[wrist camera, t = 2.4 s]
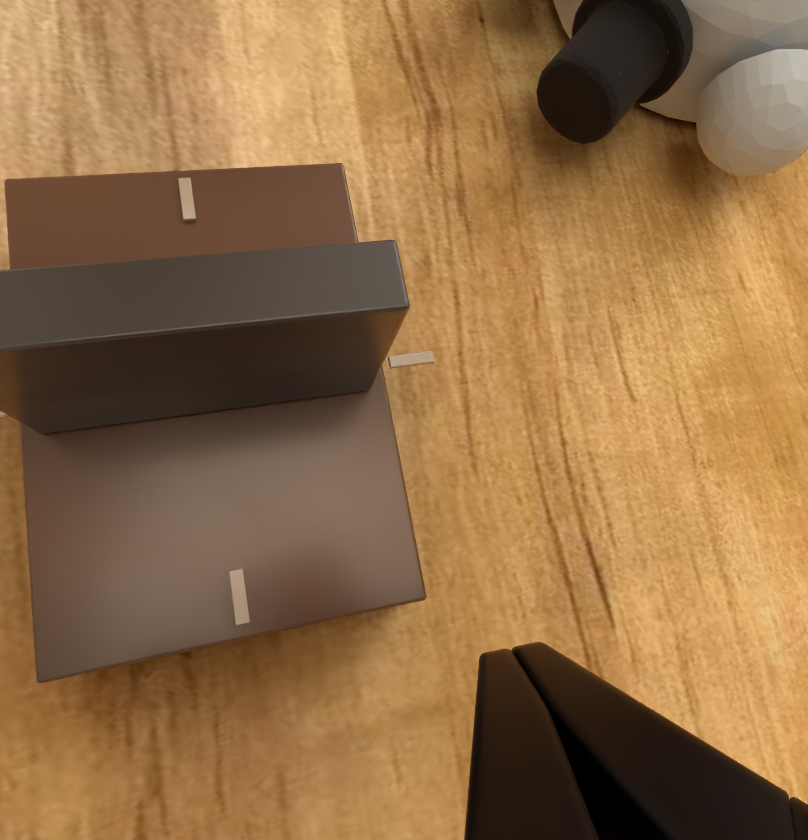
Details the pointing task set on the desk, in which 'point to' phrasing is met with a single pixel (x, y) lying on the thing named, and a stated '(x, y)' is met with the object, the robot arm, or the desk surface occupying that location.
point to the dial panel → (205, 450)
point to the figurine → (687, 74)
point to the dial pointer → (195, 332)
